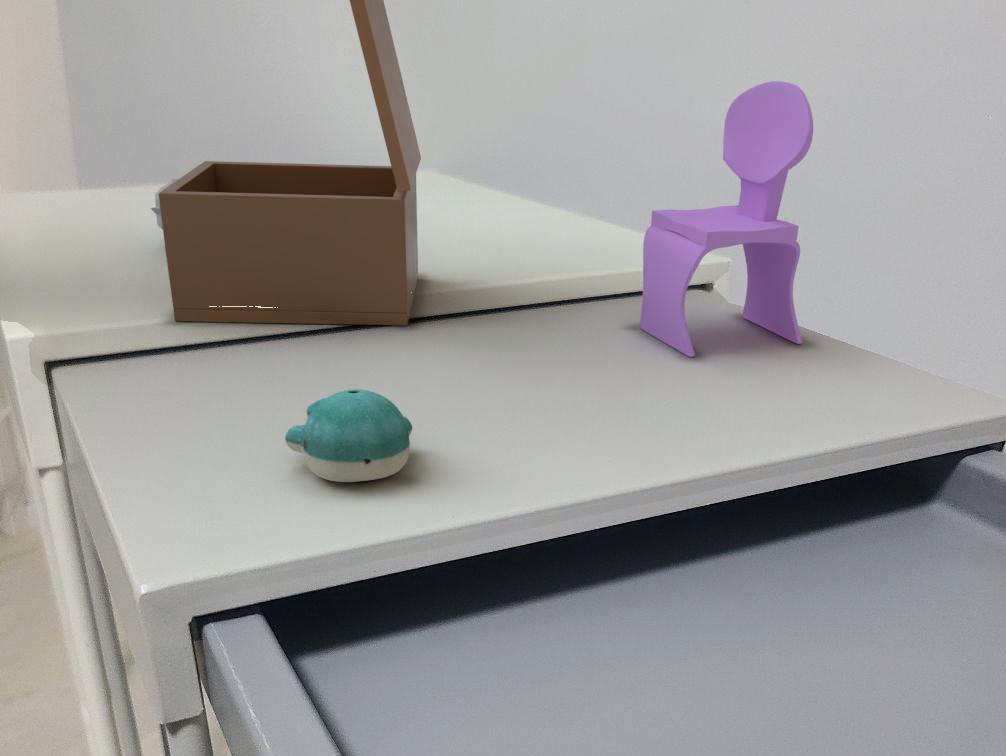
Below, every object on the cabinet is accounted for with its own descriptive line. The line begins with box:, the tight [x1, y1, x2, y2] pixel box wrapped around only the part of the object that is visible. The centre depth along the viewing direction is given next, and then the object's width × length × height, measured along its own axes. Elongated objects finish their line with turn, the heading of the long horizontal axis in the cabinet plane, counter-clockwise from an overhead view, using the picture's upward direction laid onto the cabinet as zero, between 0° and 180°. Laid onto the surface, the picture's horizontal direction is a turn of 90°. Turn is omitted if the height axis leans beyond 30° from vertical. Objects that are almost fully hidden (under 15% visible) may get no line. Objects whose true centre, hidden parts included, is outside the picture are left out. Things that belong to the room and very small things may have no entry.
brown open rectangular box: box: [158, 160, 419, 327], centre depth 71 cm, size 15×12×8 cm
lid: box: [349, 0, 422, 193], centre depth 66 cm, size 15×12×6 cm
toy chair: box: [639, 80, 814, 358], centre depth 65 cm, size 8×9×15 cm
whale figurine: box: [284, 388, 413, 483], centre depth 49 cm, size 6×7×4 cm
